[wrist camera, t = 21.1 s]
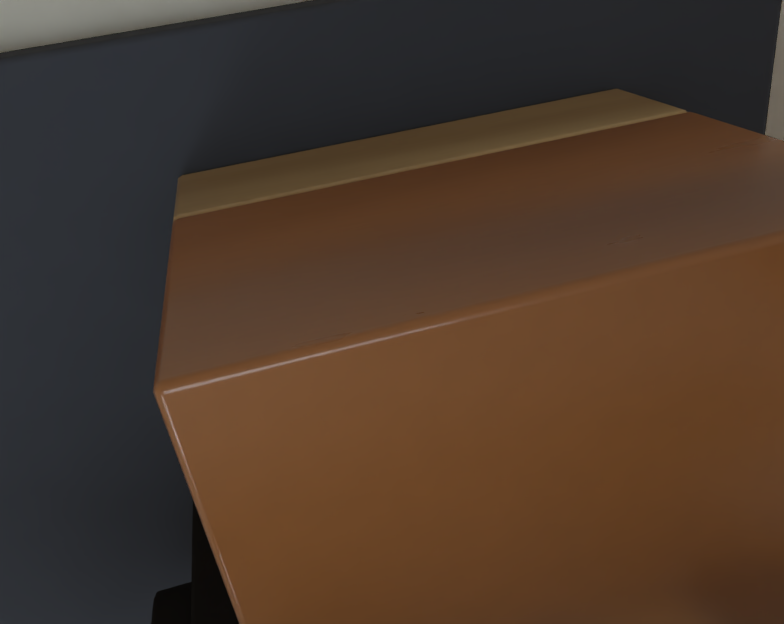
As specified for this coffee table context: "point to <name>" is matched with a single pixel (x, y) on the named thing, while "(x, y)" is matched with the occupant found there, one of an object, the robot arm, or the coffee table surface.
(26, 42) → the coffee table surface
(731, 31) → the mat
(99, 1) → the coffee table surface
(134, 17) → the coffee table surface
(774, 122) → the coffee table surface
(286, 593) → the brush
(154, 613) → the robot arm
